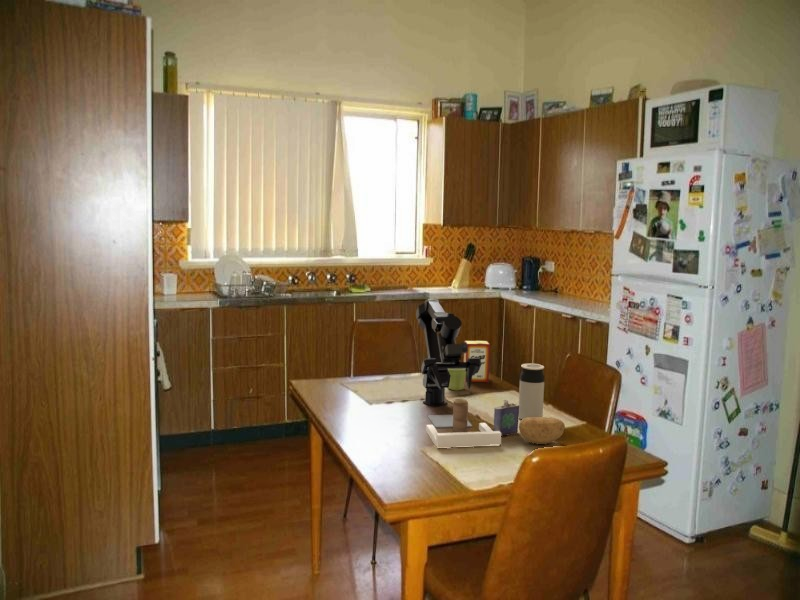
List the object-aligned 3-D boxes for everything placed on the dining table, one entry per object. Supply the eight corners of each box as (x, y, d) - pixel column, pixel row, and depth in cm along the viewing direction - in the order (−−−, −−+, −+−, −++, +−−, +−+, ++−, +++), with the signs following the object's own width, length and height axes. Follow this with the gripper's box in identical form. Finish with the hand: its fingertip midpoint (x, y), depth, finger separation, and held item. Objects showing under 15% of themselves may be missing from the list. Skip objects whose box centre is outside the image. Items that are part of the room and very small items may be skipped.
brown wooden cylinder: (459, 431, 205) (460, 397, 203) (469, 435, 202) (471, 400, 200) (449, 434, 202) (450, 399, 201) (460, 438, 199) (461, 403, 197)
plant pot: (468, 392, 252) (469, 369, 251) (444, 391, 252) (444, 369, 251) (466, 385, 261) (467, 364, 260) (442, 385, 261) (443, 363, 260)
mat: (427, 416, 220) (427, 415, 220) (462, 415, 222) (462, 414, 222) (435, 427, 208) (435, 426, 208) (472, 426, 210) (472, 425, 210)
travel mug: (546, 418, 220) (549, 366, 218) (534, 423, 214) (536, 369, 212) (526, 413, 226) (528, 362, 223) (513, 418, 220) (515, 365, 218)
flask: (496, 437, 200) (497, 403, 199) (490, 434, 203) (491, 401, 201) (519, 433, 205) (521, 399, 204) (513, 430, 207) (515, 397, 206)
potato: (570, 448, 193) (571, 421, 192) (524, 449, 190) (525, 423, 189) (556, 436, 202) (558, 411, 201) (513, 438, 200) (514, 413, 199)
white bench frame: (426, 430, 205) (426, 418, 205) (484, 428, 208) (485, 416, 208) (437, 448, 189) (437, 435, 189) (500, 446, 193) (501, 433, 192)
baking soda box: (465, 381, 268) (466, 342, 266) (463, 377, 274) (464, 339, 272) (488, 381, 268) (490, 343, 266) (485, 378, 274) (487, 340, 272)
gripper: (424, 333, 209) (430, 376, 199) (481, 333, 212) (490, 374, 202) (418, 353, 217) (424, 394, 208) (473, 352, 221) (481, 393, 211)
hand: (455, 388), depth 207 cm, fingers open, 9 cm apart
